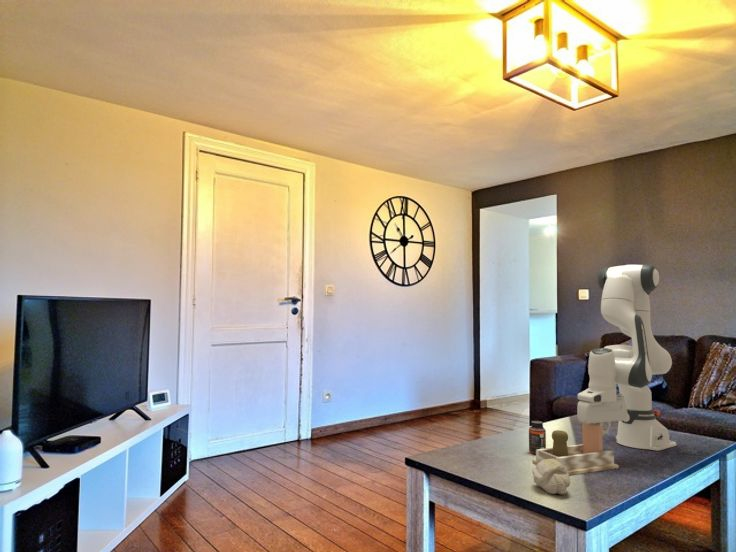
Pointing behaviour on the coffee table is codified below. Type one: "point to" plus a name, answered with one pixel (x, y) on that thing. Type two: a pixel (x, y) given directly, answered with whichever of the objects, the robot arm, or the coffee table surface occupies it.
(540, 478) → the fossil replica
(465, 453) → the coffee table surface
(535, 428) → the supplement bottle
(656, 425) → the robot arm
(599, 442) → the block
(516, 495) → the coffee table surface
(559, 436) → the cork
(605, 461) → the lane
